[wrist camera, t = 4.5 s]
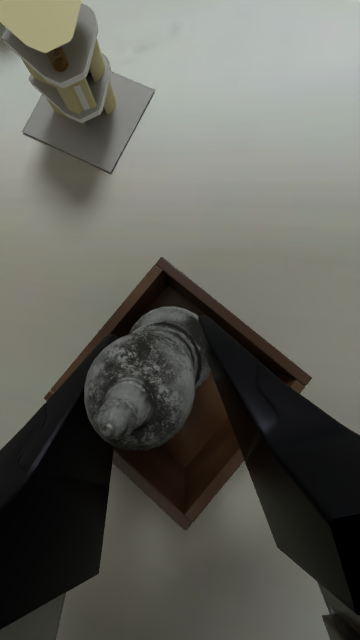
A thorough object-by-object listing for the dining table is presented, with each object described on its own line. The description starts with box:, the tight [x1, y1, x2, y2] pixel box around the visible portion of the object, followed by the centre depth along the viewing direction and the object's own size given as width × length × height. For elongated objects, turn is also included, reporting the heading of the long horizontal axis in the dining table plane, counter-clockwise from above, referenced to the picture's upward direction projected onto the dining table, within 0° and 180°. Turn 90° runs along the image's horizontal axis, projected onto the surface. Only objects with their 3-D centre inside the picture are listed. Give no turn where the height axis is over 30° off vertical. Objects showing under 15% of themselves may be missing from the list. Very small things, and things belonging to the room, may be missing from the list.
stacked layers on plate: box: [0, 0, 154, 173], centre depth 13 cm, size 10×9×6 cm
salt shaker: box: [84, 306, 211, 450], centre depth 8 cm, size 6×6×12 cm
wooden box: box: [44, 257, 312, 530], centre depth 13 cm, size 12×12×4 cm
